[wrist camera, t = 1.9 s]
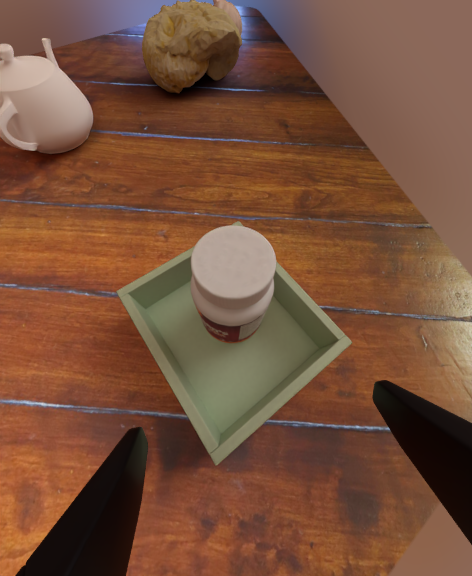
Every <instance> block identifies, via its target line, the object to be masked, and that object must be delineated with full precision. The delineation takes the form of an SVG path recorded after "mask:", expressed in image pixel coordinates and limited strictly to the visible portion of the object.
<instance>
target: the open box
mask: <svg viewBox="0 0 472 576" xmlns="http://www.w3.org/2000/svg"><path fill="white" fill-rule="evenodd" d="M231 226H242V227H244V226H243V225H242V224H241V223H240V222H239V221H238V222H236V223H234V224H232V225H231ZM194 247H195V246H194ZM194 247H193V248H191V249H189V250H187V251H186V252H184V253H182V254H180V255H179V256H177V257H175V258H173V259H172V260H170V261H168V262H166V263H165V264H163V265H161V266H160V267H158V268H156V269H154V270H153V271H151V272H149V273H147V274H146V275H144V276H142V277H140V278H139V279H137V280H135V281H134V282H132V283H130V284H128V285H127V286H125V287H123V288H121V289H120V290H118V291H116V293H117V294H118V296H119V298H120V300H121V301H122V303H123V305H124V307H125V308H126V310H127V312H128V314H129V315H130V317H131V319H132V321H133V322H134V324H135V326H136V328H137V329H138V331H139V333H140V335H141V336H142V338H143V340H144V341H145V343H146V345H147V347H148V348H149V350H150V352H151V354H152V355H153V357H154V359H155V361H156V362H157V364H158V366H159V368H160V369H161V371H162V373H163V375H164V376H165V378H166V380H167V382H168V383H169V385H170V387H171V389H172V390H173V392H174V394H175V396H176V397H177V399H178V401H179V403H180V404H181V406H182V408H183V410H184V411H185V413H186V415H187V417H188V418H189V420H190V422H191V424H192V425H193V427H194V429H195V431H196V432H197V434H198V436H199V438H200V439H201V441H202V443H203V445H204V446H205V448H206V450H207V452H208V453H209V454H210V457H211V458H212V460H213V462H214V464H215V465H216V466H217V465H218V464H219V463H220V462H221V461H222V460H224V459H225V458H226V457H227V456H228V455H229V454H230V453H231V452H232V451H233V450H235V449H236V448H237V447H238V446H239V445H240V444H241V443H242V442H243V441H245V440H246V439H247V438H248V437H249V436H250V435H251V434H252V433H253V432H254V431H256V430H257V429H258V428H259V427H260V426H261V425H262V424H263V423H264V422H266V421H267V420H268V419H269V418H270V417H271V416H272V415H273V414H274V413H275V412H277V411H278V410H279V409H280V408H281V407H282V406H283V405H284V404H285V403H286V402H288V401H289V400H290V399H291V398H292V397H293V396H294V395H295V394H296V393H298V392H299V391H300V390H301V389H302V388H303V387H304V386H305V385H306V384H307V383H309V382H310V381H311V380H312V379H313V378H314V377H315V376H316V375H317V374H319V373H320V372H321V371H322V370H323V369H324V368H325V367H326V366H327V365H328V364H330V363H331V362H332V361H333V360H334V359H335V358H336V357H337V356H338V355H340V354H341V353H342V352H343V351H344V350H345V349H346V348H347V347H348V346H349V345H351V344H352V341H351V340H350V339H349V338H348V337H347V336H346V335H345V334H344V333H343V332H342V331H341V330H340V329H339V328H338V327H337V325H336V324H335V323H334V322H333V321H332V320H331V319H330V318H329V317H328V316H327V315H326V314H325V313H324V312H323V311H322V309H321V308H320V307H319V306H318V305H317V304H316V303H315V302H314V301H313V300H312V299H311V298H310V297H309V296H308V295H307V293H306V292H305V291H304V290H303V289H302V288H301V287H300V286H299V285H298V284H297V283H296V282H295V281H294V280H293V279H292V277H291V276H290V275H289V274H288V273H287V272H286V271H285V270H284V269H283V268H282V267H281V266H280V265H279V264H278V263H277V262H276V269H275V274H274V277H273V279H274V292H273V296H272V299H271V302H270V304H269V306H268V308H267V310H266V312H265V315H264V317H263V319H262V321H261V323H260V326H259V327H258V329H257V331H256V332H255V333H254V334H253V335H252V336H251V337H250V338H248V339H247V340H245V341H243V342H240V343H233V344H229V343H224V342H221V341H218V340H216V339H215V338H214V337H212V336H211V335H210V334H209V333H208V331H207V330H206V328H205V326H204V324H203V322H202V320H201V318H200V315H199V313H198V310H197V308H196V306H195V303H194V301H193V298H192V294H191V277H192V270H191V256H192V252H193V249H194Z"/></svg>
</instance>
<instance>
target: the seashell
mask: <svg viewBox="0 0 472 576" xmlns="http://www.w3.org/2000/svg"><path fill="white" fill-rule="evenodd" d="M241 45H242V38H241V35H240V32H239V30H238V28H237V26H236V25H235V23H234V22H233V20H232V19H231V17H230V16H229V15H228V14H227V13H226V11H225V10H224V9H220V8H217V7H214V6H212V5H211V4H209V3H205V2H204V3H203V2H202V3H199V2H196V1H195V0H190V2H180V1H177V2H176V4H174V5H173V6H172V7H170V6H165V5H163V6H162V7H161V11H160V12H159V13H158V14H156V15H154V17H152V18H150V19H149V20H148V22H147V25H146V29H145V33H144V37H143V42H142V51H143V58H144V62H145V65H146V68H147V70H148V72H149V74H150V76H151V77H152V79H153V80H154V82H155V83H156V84H157V85H158V86H160V87H161V88H163V89H165V90H166V91H168V92H170V93H173V92H174V93H175V92H176V93H180V92H181V91H182V89H183V87H190V86H192V85H193V84H194V83H195V82H196V81H197V80H199V79H200V78H201V77H202V76H203V75H204V74H205V72H206V73H207V75H208V76H210V77H211V78H212V79H213V80H220V79H222V78H223V77H225V76H226V75H227V74H228V72H229V71H231V70H232V69H233V67H234V66H235V64H236V62H237V59H238V52H239V48H240V46H241Z"/></svg>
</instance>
